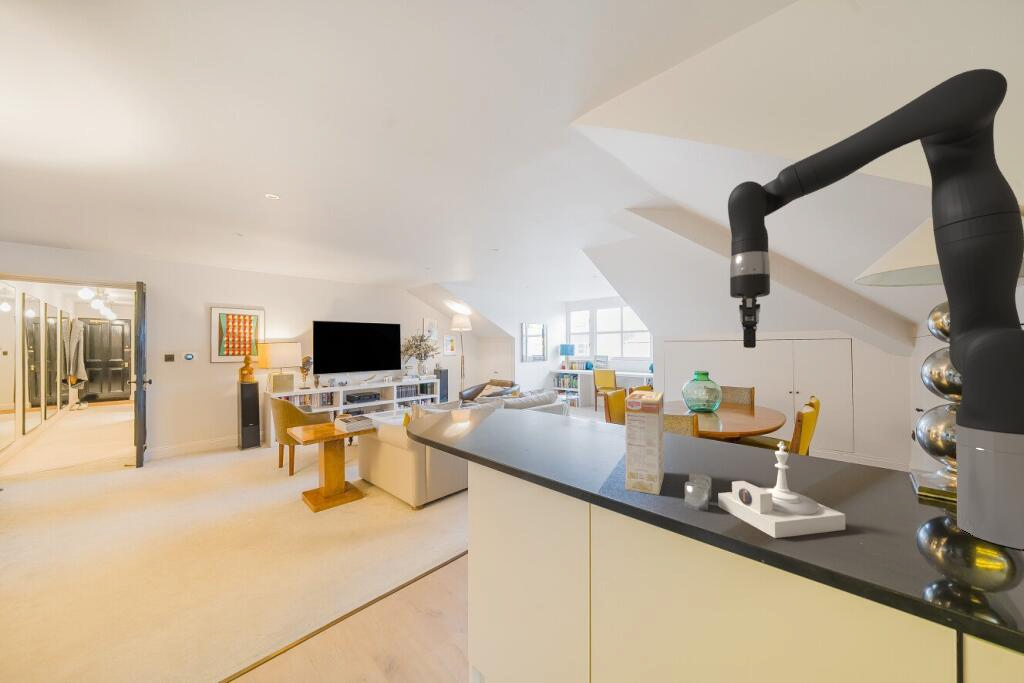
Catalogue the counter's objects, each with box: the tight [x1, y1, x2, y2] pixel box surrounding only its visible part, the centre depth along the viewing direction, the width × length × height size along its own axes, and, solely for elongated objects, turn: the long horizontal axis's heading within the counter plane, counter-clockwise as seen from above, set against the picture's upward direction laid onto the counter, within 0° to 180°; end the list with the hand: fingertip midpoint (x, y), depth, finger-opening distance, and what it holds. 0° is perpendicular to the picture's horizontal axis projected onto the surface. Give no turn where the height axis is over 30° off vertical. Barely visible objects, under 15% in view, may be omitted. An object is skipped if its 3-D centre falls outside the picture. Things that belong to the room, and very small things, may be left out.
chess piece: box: [766, 441, 799, 503], centre depth 67 cm, size 5×5×10 cm
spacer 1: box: [688, 472, 712, 501], centre depth 76 cm, size 4×4×4 cm
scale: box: [717, 480, 846, 539], centre depth 67 cm, size 14×12×6 cm
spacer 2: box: [684, 481, 709, 512], centre depth 71 cm, size 4×4×4 cm
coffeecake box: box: [624, 390, 665, 496], centre depth 85 cm, size 15×7×20 cm, turn 154°
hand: (749, 347), depth 84 cm, fingers open, 8 cm apart
